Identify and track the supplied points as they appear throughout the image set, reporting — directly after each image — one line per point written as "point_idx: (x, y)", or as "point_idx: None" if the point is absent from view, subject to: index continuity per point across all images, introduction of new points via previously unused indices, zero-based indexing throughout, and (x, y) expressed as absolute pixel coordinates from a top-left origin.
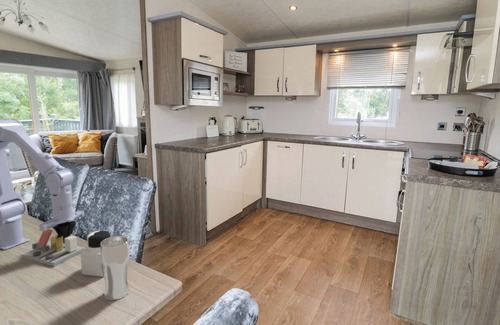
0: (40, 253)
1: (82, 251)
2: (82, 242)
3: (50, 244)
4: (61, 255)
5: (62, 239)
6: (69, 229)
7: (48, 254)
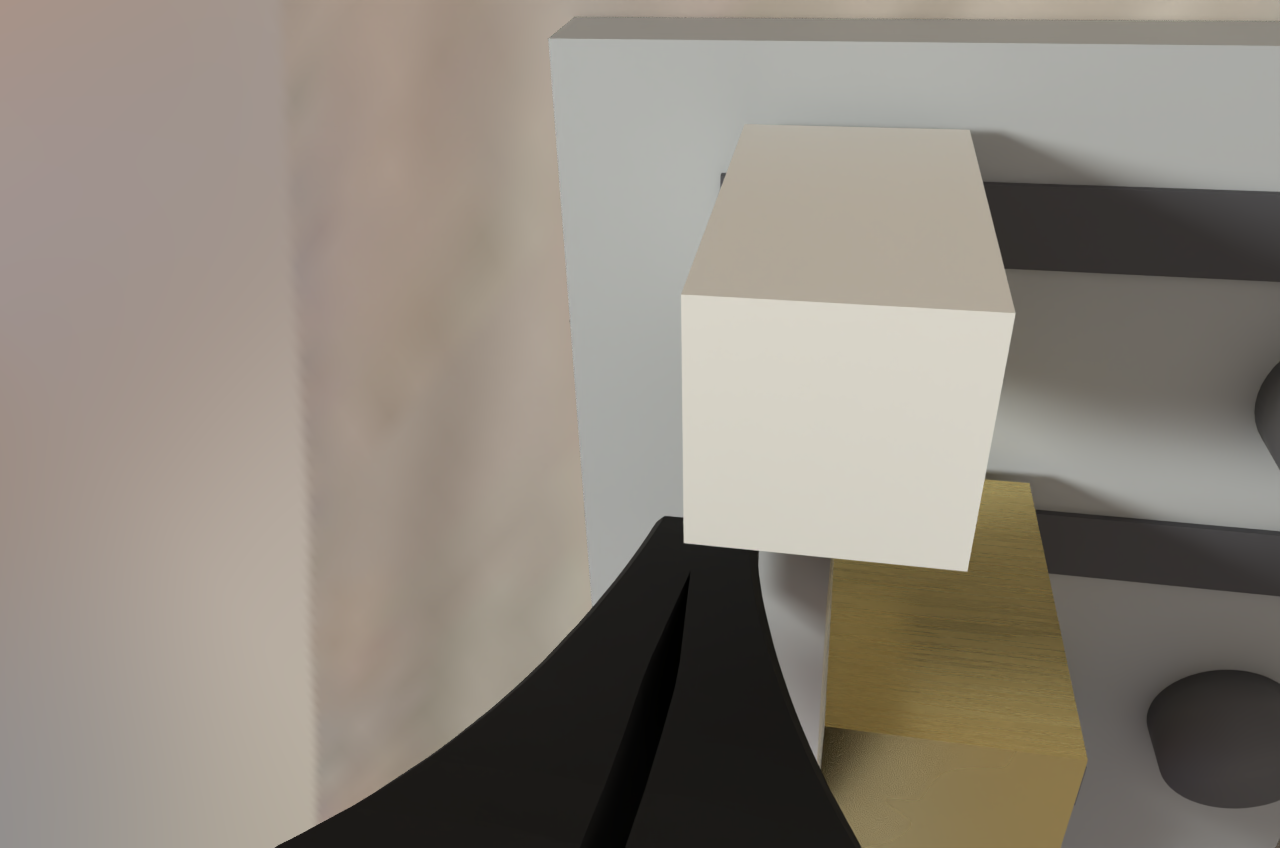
0: (1207, 694)
1: (659, 22)
2: (352, 412)
3: None
4: (1164, 238)
5: (848, 643)
6: (588, 794)
7: (1176, 546)
